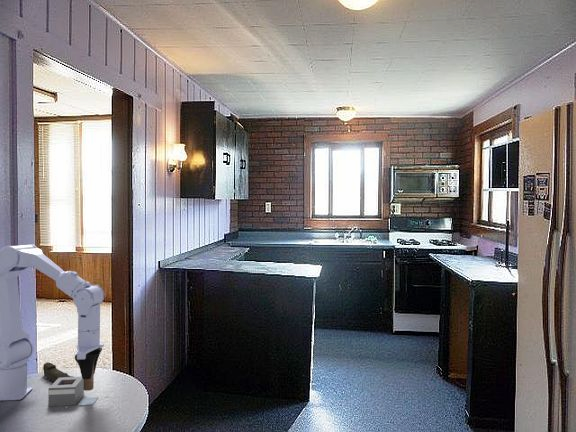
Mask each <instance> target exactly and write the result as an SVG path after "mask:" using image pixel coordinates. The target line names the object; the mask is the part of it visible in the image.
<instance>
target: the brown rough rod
mask: <svg viewBox="0 0 576 432" xmlns="http://www.w3.org/2000/svg"><path fill="white" fill-rule="evenodd" d="M42 370H43V374H44V377H45V378H46V379H47V380H51V381H53V383H54V382H55V381H56V380H57V379H58V378H62V377H74V376H73V375H72V376H71V375H69V374H68V373H67V372H64V371H62V370H60V369H58V368H57V366H56V365H55V364H54V363H52V362H48V361H47V362H45V363H44V364H43V368H42Z"/></svg>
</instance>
